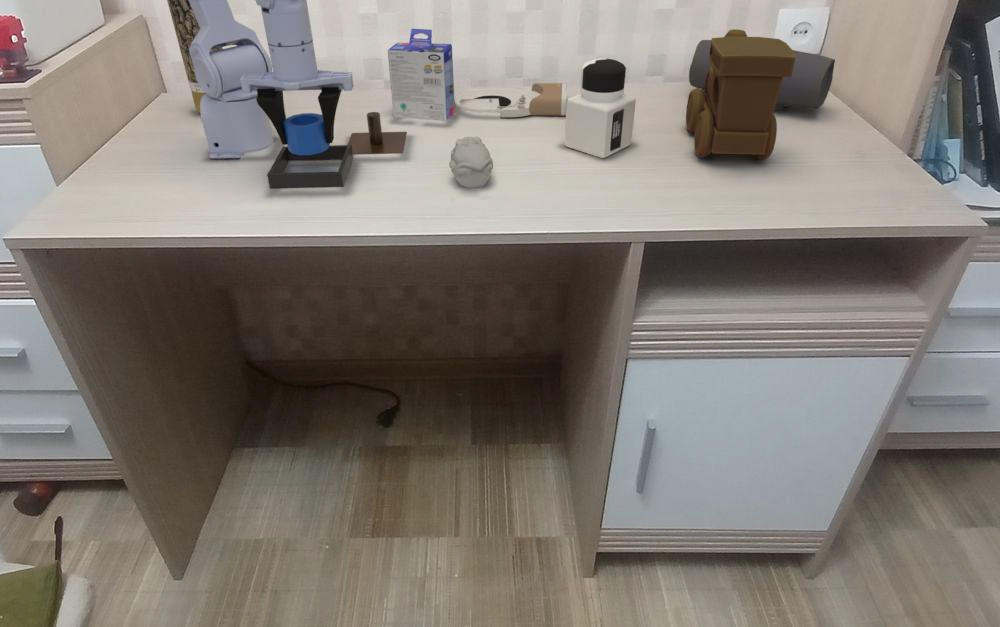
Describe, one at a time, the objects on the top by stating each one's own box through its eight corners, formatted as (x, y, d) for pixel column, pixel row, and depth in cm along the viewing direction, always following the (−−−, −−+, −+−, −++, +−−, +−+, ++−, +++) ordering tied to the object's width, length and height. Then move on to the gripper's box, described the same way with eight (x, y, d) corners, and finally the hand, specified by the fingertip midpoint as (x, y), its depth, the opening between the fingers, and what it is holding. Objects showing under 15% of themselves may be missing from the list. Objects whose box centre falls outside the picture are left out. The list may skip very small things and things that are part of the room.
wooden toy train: (776, 172, 103) (803, 55, 93) (696, 170, 104) (715, 54, 94) (749, 123, 119) (770, 19, 109) (680, 121, 120) (695, 18, 110)
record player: (566, 101, 119) (449, 100, 121) (565, 119, 121) (450, 118, 123) (566, 80, 129) (458, 79, 130) (565, 97, 131) (459, 96, 132)
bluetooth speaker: (683, 99, 129) (691, 42, 123) (702, 85, 135) (711, 31, 130) (810, 123, 119) (826, 63, 113) (825, 108, 125) (840, 49, 119)
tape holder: (344, 160, 108) (339, 125, 104) (352, 138, 115) (347, 104, 112) (403, 159, 108) (400, 123, 105) (407, 137, 115) (404, 103, 112)
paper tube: (244, 107, 128) (210, -46, 113) (213, 118, 123) (174, -39, 109) (219, 101, 131) (183, -49, 116) (188, 111, 126) (146, -43, 112)
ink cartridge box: (456, 115, 124) (452, 28, 115) (448, 126, 119) (444, 37, 111) (403, 111, 125) (395, 26, 117) (393, 122, 121) (384, 34, 112)
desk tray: (271, 194, 98) (266, 174, 96) (286, 165, 106) (282, 146, 105) (344, 193, 98) (341, 173, 97) (354, 163, 107) (351, 144, 105)
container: (632, 145, 112) (640, 61, 104) (603, 159, 107) (610, 73, 100) (592, 133, 116) (598, 51, 108) (563, 146, 111) (567, 62, 104)
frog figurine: (484, 174, 103) (483, 128, 99) (501, 193, 98) (500, 145, 94) (444, 180, 101) (441, 134, 97) (459, 200, 96) (457, 152, 92)
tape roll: (285, 155, 97) (279, 127, 95) (293, 140, 102) (288, 113, 100) (326, 154, 97) (321, 126, 95) (332, 139, 102) (328, 112, 100)
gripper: (225, 50, 88) (249, 153, 96) (341, 48, 88) (355, 151, 96) (240, 36, 94) (261, 134, 101) (349, 34, 94) (362, 132, 102)
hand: (308, 141), depth 99 cm, fingers closed on tape roll, 5 cm apart
